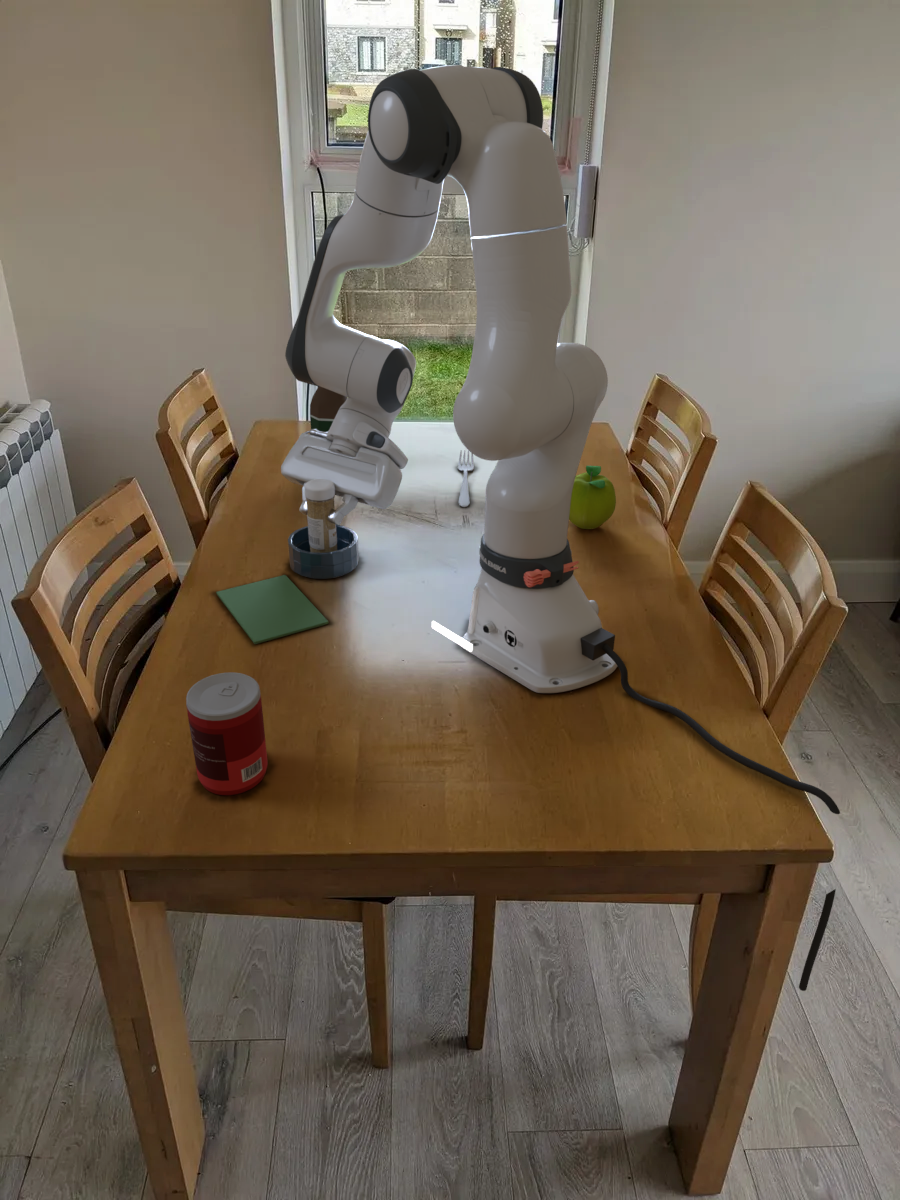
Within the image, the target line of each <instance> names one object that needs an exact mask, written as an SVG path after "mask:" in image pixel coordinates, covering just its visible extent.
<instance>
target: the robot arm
mask: <svg viewBox="0 0 900 1200" xmlns="http://www.w3.org/2000/svg"><path fill="white" fill-rule="evenodd" d="M543 125H544V108H543V101H542V98H541V94H540V92H539V90H538V88H537V86H536V85H535V83H534V82H533V80H532V79H531V78H529V76H527V75H525V74H524V73H522V72H520V71H518V70H515V69H512V68H508V67H504V66H495V67H491V68H487V67H480V66H463V65H461V64H451V65H450V64H449V65H439V66H431V67H428V68H422V69H416V68H407V69H405V70H401V71H398V72H396V73H393V74H391V75H388V76H387V77H385V78H384V79H382V80H381V81H380V82H379V83H378V84H377V85H376V87H375V88H374V90H373V92H372V95H371V97H370V101H369V106H368V111H367V129H368V130H367V132H366V136H365V139H364V143H363V147H362V151H361V155H360V159H359V163H358V168H357V174H356V179H355V187H354V194H353V198H352V201H351V204H350V206H349V207H348V209H347V211H346V212H345V213H343V214H338V215H336V216H335V217H333V218H332V220H331V221H330V222H329V223H328V225H327V227H326V228H325V230H324V232H323V234H322V236H321V239H320V242H319V245H318V248H317V250H316V254H315V257H314V261H313V263H312V267H311V270H310V273H309V277H308V280H307V284H306V287H305V291H304V294H303V295H304V296H303V298H302V302H301V305H300V309H299V312H298V315H297V318H296V320H295V322H294V325H293V328H292V330H291V333H290V335H289V338H288V341H287V344H286V347H285V355H284V357H285V360H286V363H287V366H288V367H289V370H290V372H291V373H292V375H293V377H294V378H295V379H296V381H298V382H300V383H301V382H302V383H305V384H308V385H312V386H315V387H317V388H318V387H323V388H326V389H328V390H331V391H333V392H336V393H338V394H341V395H343V396H346V397H347V400H346V401H345V403H344V404H343V405H342V406H341V407H340V408H339V410H338V412H337V414H336V417H335V419H334V421H333V423H332V425H331V427H330V429H329V431H328V432H322V431H319V430H316V429H311V428H310V429H309V430H307V431H304V432H301V434H300V435H299V437H298V439H297V440H296V441H295V443H294V444H293V446H292V447H291V449H290V450H289V452H288V453H287V455H286V456H285V458H284V460H283V461H282V464H281V466H280V472H281V473H280V474H281V475H282V476H283V477H284V478H285V479H286V480H288V481H289V482H290V483H292V484H295V485H299V486H302V488H301V493H302V494H301V495H302V502H301V504H300V507H299V508H298V509H299V513H301V514H302V515H305V516H307V500H306V496H305V484H306V483H307V482H308V481H311V480H314V479H327V480H330V481H332V482H333V483H334V485H335V497H340V498H342V499H341V501H342V503H341V504H340V505H339V506H338V507H337V508H335V510H333V509H331V511H330V515H328V521H330V522H331V523H333V524H336V525H342V522H343V520H344V518H345V517H346V516H347V515H348V514H350V513H351V512H352V511H354V510H355V509H356V507H357V505H358V503H360V504H363V505H367V506H370V507H374V508H377V509H380V510H386V509H387V508H389V507H390V506H391V505H392V504H393V503H394V501H395V499H396V497H397V494H398V491H399V489H400V486H401V483H402V479H403V472H402V470H403V469H404V468H406V466H407V464H408V462H409V459H408V457H407V455H406V454H405V453H404V452H403V450H401V448H400V447H399V446H398V444H396V443H395V442H394V441H393V440H392V439H391V438H389V437H390V435H391V432H392V426H393V423H394V421H395V419H396V418H397V417H398V416H399V414H400V413H401V412H402V409H403V407H404V405H405V402H406V400H407V398H408V396H409V394H410V392H411V389H412V386H413V382H414V381H413V380H414V377H415V375H416V370H417V359H416V357H415V355H414V354H413V352H412V351H411V350H410V349H409V348H408V347H406V345H404V344H402V343H401V342H399V341H396V340H393V339H387V338H386V339H383V338H379V337H377V336H374V335H372V334H371V335H370V334H367V333H364V332H363V331H360V330H358V329H354V328H352V327H350V326H347V325H344V324H342V323H340V322H339V320H337V319H336V317H335V315H334V311H335V308H336V304H337V301H338V298H339V295H340V292H341V290H342V286H343V283H344V280H345V277H346V274H347V272H349V271H354V270H361V269H388V268H393V267H398V266H401V265H404V264H407V263H408V262H409V263H410V262H411V261H412V260H414V259H416V258H417V257H419V256H420V255H421V254H422V253H424V251H425V250H426V249H427V248H428V246H429V244H430V243H431V241H432V238H433V235H434V232H435V228H436V224H437V221H438V216H439V211H440V205H441V200H442V195H443V194H442V193H443V187H444V182H445V179H446V178H447V177H450V178H452V179H453V180H454V181H456V182H457V183H458V184H459V185H460V186H461V188H462V190H463V192H464V195H465V198H466V203H467V209H468V210H467V211H468V223H469V224H468V225H469V232H470V233H469V234H470V242H471V243H470V244H471V252H472V260H473V261H472V263H473V272H474V283H475V295H476V318H475V330H474V339H473V346H472V351H471V358H470V362H469V366H468V371H467V374H466V378H465V380H464V383H463V384H462V387H461V388H460V390H459V392H458V394H457V395H456V398H455V400H454V402H453V408H452V420H453V425H454V429H455V432H456V435H457V437H458V439H459V440H460V442H461V444H462V445H463V446H464V447H465V449H467V451H468V450H469V453H472V454H473V456H475V457H477V458H479V459H482V460H485V461H491V462H494V461H497V462H496V464H495V467H493V470H492V471H491V473H490V475H489V477H488V479H487V483H486V487H485V497H484V498H485V501H484V502H485V504H484V523H483V525H484V526H483V534H482V536H481V537H480V545H479V547H478V549H479V550H478V554H479V565H480V567H481V570H480V573H479V575H478V579H477V581H476V583H475V585H474V588H473V591H472V595H471V596H472V598H471V604H470V610H469V618H468V627H467V631H466V632H465V633H464V635H463V636H460V635H458V634H456V633H455V632H453V631H451V630H450V629H449V628H446V627H445V626H443V625H441V624H440V623H439V622H436V621H435V620H432V621H431V628H432V629H433V630H435V631H436V632H438V633H440V634H441V635H443V636H444V637H446V638H447V639H449V640H451V641H452V642H454V643H455V644H457V645H459V646H460V647H461V648H462V649H463V650H464V651H466V652H468V653H469V654H471V655H473V656H474V657H476V658H478V659H479V660H481V661H482V662H484V663H486V664H487V665H489V666H491V667H493V669H495V670H497V671H499V672H501V673H502V674H504V675H506V676H507V677H509V678H511V679H512V680H514V681H515V682H517V683H519V684H520V685H522V686H524V687H526V688H527V689H529V690H530V691H532V692H534V693H537V694H557V693H564V692H569V691H572V690H573V691H574V690H578V689H580V688H583V687H586V686H589V685H592V684H594V683H597V682H599V681H601V680H603V679H605V678H606V677H608V676H610V675H611V674H612V673H613V672H615V670H616V669H617V668H618V669H619V672H620V684H621V687H622V689H623V690H624V691H625V693H626V694H627V695H628V696H630V697H631V698H632V699H634V700H636V701H639V702H641V703H643V704H645V705H648V706H650V707H653V708H654V709H657V710H660V711H664V712H666V713H669V714H672V715H673V716H675V717H677V718H678V719H680V720H681V721H683V723H685V724H687V725H688V726H689V727H690V728H691V729H692V730H694V731H695V732H696V733H697V734H698V736H699V737H701V738H702V739H703V740H704V741H705V742H706V743H707V744H709V745H710V746H712V747H713V748H714V749H716V750H717V751H718V752H720V753H722V754H723V755H724V756H726V757H728V758H730V759H732V760H734V761H735V762H737V763H739V764H741V765H743V766H745V767H747V768H750V769H752V770H754V771H755V772H758V773H760V774H763V775H764V776H767V777H768V778H771V779H773V780H775V781H777V782H779V783H781V784H783V785H785V786H788V787H790V788H793V789H795V790H798V791H801V792H805V793H807V794H810V795H813V796H815V797H817V798H818V799H819V800H821V801H822V802H823V803H824V804H825V805H826V807H827V808H828V809H829V811H830V812H831V813H832V814H835V815H840V814H841V811H840V808H839V807H838V805H837V804H836V802H835V801H834V799H833V798H832V797H831V796H830V795H829V794H828V793H827V792H825V791H824V790H822V789H821V788H819V787H817V786H815V785H812V784H809V783H805V782H803V781H799V780H796V779H793V778H791V777H789V776H787V775H785V774H783V773H780V772H778V771H777V770H774V769H772V768H770V767H768V766H766V765H763V764H761V763H759V762H757V761H755V760H752V759H750V758H749V757H746V756H744V755H742V754H740V753H738V752H737V751H735V750H733V749H732V748H729V747H728V746H727V745H726V744H724V743H722V742H720V741H719V740H717V739H716V738H715V737H714V736H712V734H710V733H709V732H708V731H707V730H706V729H705V728H703V727H702V725H701V724H700V723H699V722H697V721H696V720H695V719H693V718H692V717H691V716H690V715H688V714H687V713H686V712H684V711H682V709H681V710H680V709H679V708H677V707H675V706H673V705H671V704H668V703H664V702H661V701H658V700H653V699H651V698H647V697H645V696H643V695H641V694H640V693H638V692H636V690H634V688H633V687H632V686H631V685H630V683H629V674H628V669H627V666H626V664H625V662H624V661H623V659H622V658H621V656H619V655H618V653H616V651H615V650H614V648H615V640H616V635H615V634H614V633H613V632H610V631H608V630H606V629H604V628H603V625H602V620H601V618H600V616H599V611H600V609H599V605H598V603H597V601H596V600H594V599H590V600H589V598H588V597H587V595H586V593H585V592H584V590H583V588H582V587H581V585H580V583H579V582H578V580H577V578H576V576H575V574H574V571H575V570H577V569H579V567H578V566H577V565H578V564H579V563H580V561H578V560H575V561H573V556H572V555H573V554H572V549H571V545H570V541H569V539H568V535H569V534H568V533H569V532H568V531H569V523H570V520H569V514H570V504H571V495H572V490H573V484H574V480H575V476H577V473H578V469H579V465H580V463H581V459H582V457H583V456H582V455H583V453H584V449H585V446H586V443H587V440H588V436H589V433H590V429H591V427H592V424H593V420H594V418H595V416H596V414H597V412H598V410H599V408H600V407H601V404H602V403H603V401H604V399H605V397H606V394H607V391H608V383H609V382H608V381H609V378H608V372H607V369H606V366H605V363H604V362H603V360H602V359H601V358H602V357H600V356H599V354H597V352H596V351H594V350H593V349H592V348H590V347H589V346H587V345H584V344H582V343H578V342H577V343H576V342H558V340H559V336H560V335H559V334H560V330H561V325H562V321H563V318H564V315H565V313H566V310H567V308H568V306H569V305H570V304H569V303H570V302H571V297H572V290H573V289H572V280H571V279H572V277H571V263H570V250H569V237H568V221H567V212H566V211H567V210H566V203H565V195H564V189H563V183H562V177H561V173H560V168H559V164H558V160H557V156H556V152H555V148H554V144H553V142H552V139H551V138H550V136H549V135H548V133H547V132H546V131H545V130H544V129H543ZM836 891H837V889H836V888H835V889H833V890H831V891H830V892H827V893H826V894H825V896H824V897H825V898H824V901H823V906H822V910H821V914H820V917H819V920H818V924H817V927H816V929H815V933H814V935H813V939H812V940H811V945H810V947H809V950H808V954H807V957H806V959H805V962H804V966H803V969H802V973H801V975H800V981H799V985H798V989H799V990H800V991H802V992H805V991H807V989H808V985H809V981H810V977H811V974H812V971H813V967H814V964H815V962H816V958H817V955H818V953H819V949H820V946H821V943H822V941H823V938H824V935H825V932H826V929H827V926H828V923H829V919H830V916H831V912H832V909H833V908H832V907H833V906H834V900H835V896H836Z"/></svg>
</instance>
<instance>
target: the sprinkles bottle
mask: <svg viewBox="0 0 900 1200" xmlns="http://www.w3.org/2000/svg"><path fill="white" fill-rule="evenodd" d="M305 496H306V500H307V515H306V519H307V526H308V533H309V544H310V552H316V553H324V552H333V551H337V533H336V524H333V523H331V522H330V521H328V515H330V511H331V509H333V510H336V508H335V497H336V495H335V485H334V483H333V482H332V481H330V480H327V479H314V480H311V481H308V482H307V483H306V484H305Z"/></svg>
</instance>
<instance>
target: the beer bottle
mask: <svg viewBox="0 0 900 1200" xmlns="http://www.w3.org/2000/svg"><path fill="white" fill-rule="evenodd" d="M346 400H347V397H346V396H343V395H341V394H338V393H336V392H333V391H331V390H328V389H326V388H323V387H318V386H317V388H316V390H315V392H314V394H313V395H312V398H311V400H310V404H309V419H310V420H309V421H310V422H309V423H310V430H311V429H316V430H319V431H322V432H328V431H329V429H330V427H331V425H332V423H333V421H334V419H335V417H336V414H337V412H338V410H339V408H340V407H341V406H342V405H343V404H344V403H345V401H346Z"/></svg>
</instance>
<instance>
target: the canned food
mask: <svg viewBox="0 0 900 1200" xmlns="http://www.w3.org/2000/svg"><path fill="white" fill-rule="evenodd" d="M185 697H186V699H185V701H186V702H185V703H186V704H185V705H186V712H187V719H188V725H189V732H190V738H191V745H192V750H193V758H194V762H195V768H196V775H197V778H198V781H199V782H200V784H201V785H202V787H203V788H204V789H205V790H206V791H208V792H210V793H212V794H214V795H220V796H234V795H239V794H242V793H245V792H247V791H250V790H251V789H253V788H255V787H256V786H257V785H258V784H260V783H261V782H262V781H263V779H264V777H265V775H266V772H267V769H268V764H269V763H268V752H267V743H266V733H265V732H266V731H265V723H264V712H263V703H262V694H261V689H260V685H259V682H258V681H257V680H256V679H255V678H254V677H252V676H250V675H247V674H246V673H245V674H244V673H241V672H221V673H216V674H212V675H209V676H206V677H204V678H202V679H199V680H198V681H197V682H195V683H194V684H193V685H192V686H191V687H190V688H189V690H188V691H187V693H186V696H185Z"/></svg>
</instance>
